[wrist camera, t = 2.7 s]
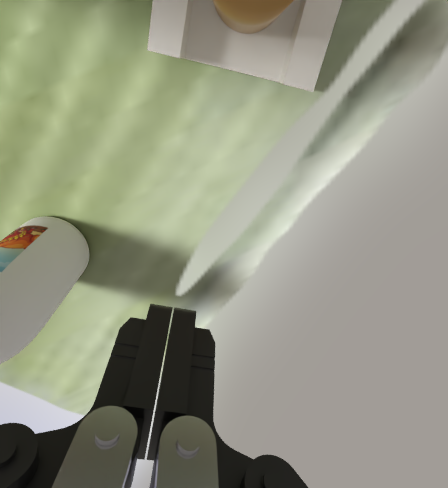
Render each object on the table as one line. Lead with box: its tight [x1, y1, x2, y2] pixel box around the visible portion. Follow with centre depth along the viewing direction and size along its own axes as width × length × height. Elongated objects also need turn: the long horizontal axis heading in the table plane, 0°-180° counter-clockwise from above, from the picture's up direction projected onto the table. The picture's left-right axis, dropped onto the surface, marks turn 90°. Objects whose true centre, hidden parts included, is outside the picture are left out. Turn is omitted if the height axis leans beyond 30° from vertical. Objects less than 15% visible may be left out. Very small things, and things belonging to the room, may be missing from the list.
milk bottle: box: [0, 216, 89, 364], centre depth 29 cm, size 8×8×20 cm
